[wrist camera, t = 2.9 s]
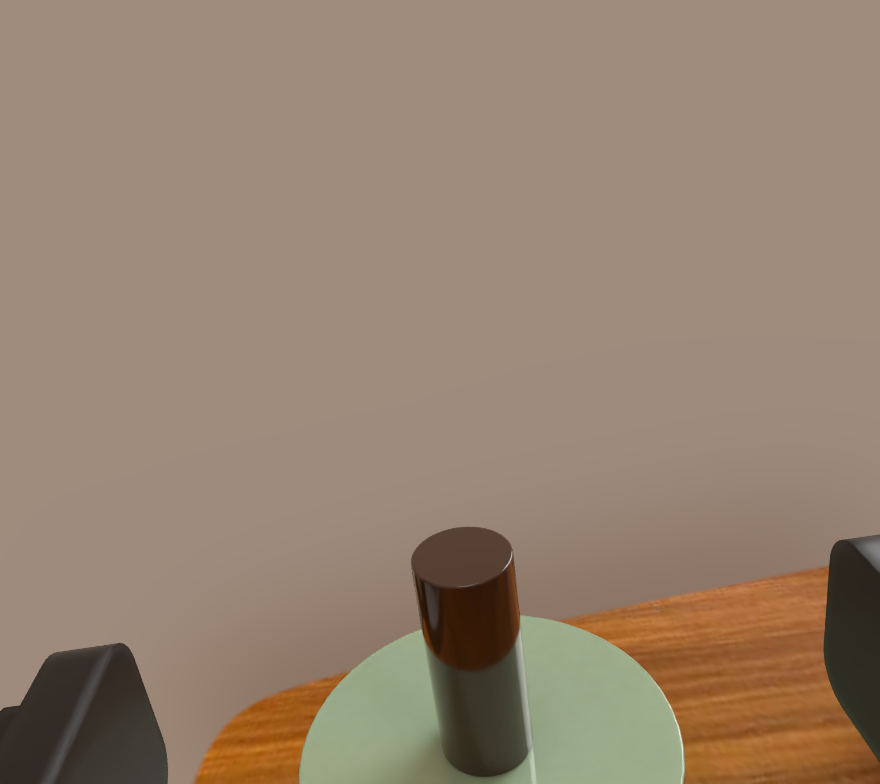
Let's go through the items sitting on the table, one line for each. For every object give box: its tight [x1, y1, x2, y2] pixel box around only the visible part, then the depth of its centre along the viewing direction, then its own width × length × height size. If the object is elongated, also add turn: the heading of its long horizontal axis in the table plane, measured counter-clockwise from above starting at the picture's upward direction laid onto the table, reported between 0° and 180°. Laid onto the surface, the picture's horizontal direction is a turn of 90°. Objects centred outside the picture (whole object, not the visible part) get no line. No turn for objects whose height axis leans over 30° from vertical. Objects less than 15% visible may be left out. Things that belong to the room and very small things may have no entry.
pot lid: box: [299, 527, 685, 784], centre depth 24 cm, size 12×12×8 cm
